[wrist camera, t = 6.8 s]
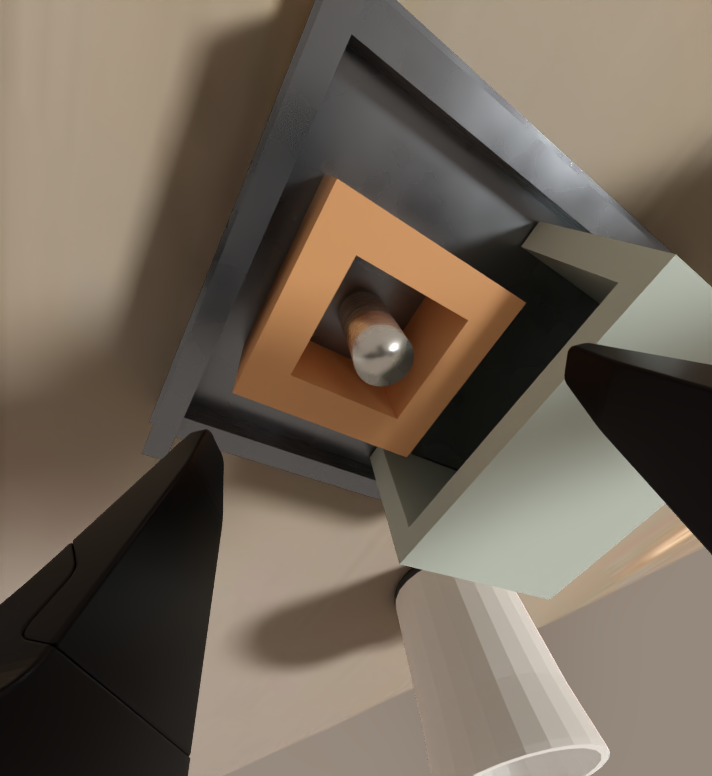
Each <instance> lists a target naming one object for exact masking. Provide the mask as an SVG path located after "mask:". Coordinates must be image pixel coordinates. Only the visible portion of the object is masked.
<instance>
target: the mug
mask: <svg viewBox="0 0 712 776" xmlns="http://www.w3.org/2000/svg"><path fill="white" fill-rule="evenodd" d="M395 606H396V610H397V615H398V619H399V624H400V628H401V633H402V637H403V642H404V646H405V651H406V656H407V660H408V665H409V669H410V674H411V678H412V683H413V687H414V691H415V696H416V701H417V705H418V709H419V714H420V718H421V723H422V727H423V733H424V739H425V745H426V751H427V757H428V763H429V769H430V775H431V776H590V775H591V774H593V773H594V772H595V771H597V770H598V769H599V768H601V767H602V766H603V765H604V764H605V762H606V761H607V760H608V759H609V754H610V751H609V749H608V747H607V745H606V744H605V742H604V741H603V739H602V737H601V736H600V734H599V733H598V731H597V729H596V728H595V726H594V725H593V723H592V721H591V720H590V718H589V717H588V715H587V714H586V712H585V710H584V709H583V707H582V706H581V704H580V703H579V701H578V699H577V698H576V696H575V695H574V693H573V691H572V690H571V688H570V687H569V685H568V683H567V682H566V680H565V678H564V676H563V675H562V673H561V672H560V670H559V668H558V666H557V664H556V662H555V661H554V659H553V657H552V655H551V653H550V652H549V650H548V648H547V646H546V645H545V643H544V641H543V639H542V637H541V636H540V634H539V632H538V630H537V628H536V627H535V625H534V623H533V621H532V619H531V618H530V616H529V614H528V612H527V610H526V609H525V607H524V605H523V603H522V602H521V600H520V598H519V596H518V594H517V593H516V592H515V591H511V590H506V589H502V588H498V587H494V586H489V585H485V584H481V583H477V582H472V581H468V580H464V579H460V578H456V577H451V576H447V575H443V574H439V573H434V572H430V571H426V570H422V569H417V568H413V569H411V570H410V571H409V572H408V573H407V574H406V575H405V576H404V577H403V578H402V580H401V581H400V582H399V585H398V587H397V590H396V593H395Z"/></svg>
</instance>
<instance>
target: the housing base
mask: <svg viewBox="0 0 712 776" xmlns="http://www.w3.org/2000/svg"><path fill="white" fill-rule="evenodd" d="M324 174H326V175H329V176H332V177H334V178H337V179H339V180H340V181H342V182H343V183H345V184H346V185H348V186H349V187H351V188H352V189H354V190H355V191H357V192H358V193H360V194H361V195H363V196H365V197H366V198H368V199H369V200H371V201H372V202H374V203H375V204H377V205H378V206H380V207H381V208H383V209H384V210H386V211H387V212H389V213H390V214H392V215H393V216H395V217H397V218H398V219H400V220H401V221H403V222H404V223H406V224H407V225H409V226H410V227H412V228H413V229H415V230H416V231H418V232H419V233H421V234H422V235H424V236H425V237H427V238H428V239H430V240H432V241H433V242H435V243H436V244H438V245H439V246H441V247H442V248H444V249H445V250H447V251H448V252H450V253H451V254H453V255H454V256H456V257H457V258H459V259H460V260H462V261H464V262H465V263H467V264H468V265H470V266H471V267H473V268H474V269H476V270H477V271H479V272H480V273H482V274H483V275H485V276H486V277H488V278H489V279H491V280H492V281H494V282H495V283H497V284H499V285H500V286H502V287H503V288H505V289H506V290H508V291H509V292H511V293H512V294H514V295H515V296H517V297H518V298H520V299H521V300H523V301H524V302H526V304H525V305H524V306H523V308H522V309H521V310H520V312H519V313H518V314H517V316H516V317H515V318H514V319H513V321H512V322H511V323H510V325H509V326H508V327H507V328H506V330H505V331H504V332H503V334H502V335H501V336H500V338H499V339H498V340H497V341H496V343H495V344H494V345H493V347H492V348H491V349H490V350H489V352H488V353H487V354H486V356H485V357H484V358H483V360H482V361H481V362H480V363H479V365H478V366H477V367H476V369H475V370H474V371H473V372H472V374H471V375H470V376H469V378H468V379H467V380H466V382H465V383H464V384H463V385H462V387H461V388H460V389H459V391H458V392H457V393H456V394H455V396H454V397H453V398H452V400H451V401H450V402H449V404H448V405H447V406H446V407H445V409H444V410H443V411H442V413H441V414H440V415H439V416H438V418H437V419H436V420H435V422H434V423H433V424H432V426H431V427H430V428H429V429H428V431H427V432H426V433H425V435H424V436H423V437H422V438H421V440H420V441H419V442H418V444H417V445H416V446H415V448H414V449H413V450H412V451H411V453H410V454H413V455H415V456H418V457H421V458H423V459H426V460H429V461H431V462H434V463H437V464H439V465H442V466H445V467H447V468H450V469H453V470H455V471H458V470H459V469H460V467H461V466H462V465H463V464H464V463H465V462H466V460H467V459H468V458H469V457H470V456H471V455H472V453H473V452H474V451H475V450H476V449H477V448H478V446H479V445H480V444H481V443H482V442H483V441H484V439H485V438H486V437H487V436H488V435H489V434H490V432H491V431H492V430H493V429H494V428H495V427H496V425H497V424H498V423H499V422H500V421H501V420H502V418H503V417H504V416H505V415H506V414H507V413H508V411H509V410H510V409H511V408H512V407H513V406H514V404H515V403H516V402H517V401H518V400H519V398H520V397H521V396H522V395H523V394H524V393H525V391H526V390H527V389H528V388H529V387H530V386H531V384H532V383H533V382H534V381H535V380H536V379H537V377H538V376H539V375H540V374H541V373H542V372H543V370H544V369H545V368H546V367H547V366H548V365H549V363H550V362H551V361H552V360H553V359H554V358H555V356H556V355H557V354H558V353H559V352H560V351H561V349H562V348H563V347H564V346H565V345H566V344H567V342H568V341H569V340H570V339H571V338H572V337H573V335H574V334H575V333H576V332H577V331H578V330H579V328H580V327H581V326H582V325H583V324H584V323H585V321H586V320H587V319H588V318H589V317H590V316H591V314H592V313H593V312H594V311H595V310H596V309H597V307H598V306H599V305H600V304H599V303H598V302H597V301H595V300H594V299H592V298H591V297H590V296H588V295H587V294H586V293H584V292H583V291H581V290H580V289H579V288H577V287H576V286H575V285H573V284H572V283H570V282H569V281H568V280H566V279H565V278H564V277H562V276H561V275H559V274H558V273H557V272H555V271H554V270H553V269H551V268H550V267H548V266H547V265H546V264H544V263H543V262H542V261H540V260H539V259H537V258H536V257H535V256H533V255H532V254H531V253H529V252H528V251H526V250H525V249H524V248H522V247H521V246H522V245H523V243H524V242H525V241H526V239H527V238H528V236H529V235H530V234H531V232H532V231H533V230H534V228H535V227H536V225H537V224H538V223H539V221H541V222H545V223H549V224H553V225H557V226H561V227H565V228H569V229H574V230H578V231H582V232H586V233H590V234H594V235H598V236H602V237H607V238H611V239H615V240H619V241H623V242H627V243H631V244H635V245H640V246H644V247H648V248H652V249H656V250H660V251H664V252H668V253H672V252H671V251H670V250H669V249H667V248H666V247H665V246H664V245H663V244H662V243H661V242H660V241H659V240H658V239H657V238H655V237H654V236H653V235H652V234H651V233H650V232H649V231H648V230H647V229H646V228H645V227H643V226H642V225H641V224H640V223H639V222H638V221H637V220H636V219H635V218H634V217H633V216H631V215H630V214H629V213H628V212H627V211H626V210H625V209H624V208H623V207H622V206H621V205H619V204H618V203H617V202H616V201H615V200H614V199H613V198H612V197H611V196H610V195H609V194H607V193H606V192H605V191H604V190H603V189H602V188H601V187H600V186H599V185H598V184H596V183H595V182H594V181H593V180H592V179H591V178H590V177H589V176H588V175H587V174H586V173H584V172H583V171H582V170H581V169H580V168H579V167H578V166H577V165H576V164H575V163H574V162H572V161H571V160H570V159H569V158H568V157H567V156H566V155H565V154H564V153H563V152H562V151H560V150H559V149H558V148H557V147H556V146H555V145H554V144H553V143H552V142H551V141H550V140H548V139H547V138H546V137H545V136H544V135H543V134H542V133H541V132H540V131H539V130H538V129H536V128H535V127H534V126H533V125H532V124H531V123H530V122H529V121H528V120H527V119H525V118H524V117H523V116H522V115H521V114H520V113H519V112H518V111H517V110H516V109H515V108H513V107H512V106H511V105H510V104H509V103H508V102H507V101H506V100H505V99H504V98H503V97H501V96H500V95H499V94H498V93H497V92H496V91H495V90H494V89H493V88H492V87H491V86H489V85H488V84H487V83H486V82H485V81H484V80H483V79H482V78H481V77H480V76H479V75H477V74H476V73H475V72H474V71H473V70H472V69H471V68H470V67H469V66H468V65H467V64H465V63H464V62H463V61H462V60H461V59H460V58H459V57H458V56H457V55H456V54H454V53H453V52H452V51H451V50H450V49H449V48H448V47H447V46H446V45H445V44H444V43H442V42H441V41H440V40H439V39H438V38H437V37H436V36H435V35H434V34H433V33H432V32H430V31H429V30H428V29H427V28H426V27H425V26H424V25H423V24H422V23H421V22H420V21H418V20H417V19H416V18H415V17H414V16H413V15H412V14H411V13H410V12H409V11H408V10H406V9H405V8H404V7H403V6H402V5H401V4H400V3H399V2H398V1H397V0H315V2H314V5H313V7H312V10H311V12H310V15H309V18H308V20H307V23H306V25H305V28H304V30H303V33H302V35H301V38H300V40H299V43H298V45H297V48H296V51H295V53H294V56H293V58H292V61H291V63H290V66H289V68H288V71H287V73H286V76H285V78H284V81H283V84H282V86H281V89H280V91H279V94H278V96H277V99H276V101H275V104H274V106H273V109H272V111H271V114H270V117H269V119H268V122H267V124H266V127H265V129H264V132H263V134H262V137H261V139H260V142H259V144H258V147H257V149H256V152H255V155H254V157H253V160H252V162H251V165H250V167H249V170H248V172H247V175H246V177H245V180H244V182H243V185H242V188H241V190H240V193H239V195H238V198H237V200H236V203H235V205H234V208H233V210H232V213H231V215H230V218H229V221H228V223H227V226H226V228H225V231H224V233H223V236H222V238H221V241H220V243H219V246H218V248H217V251H216V254H215V256H214V259H213V261H212V264H211V266H210V269H209V271H208V274H207V276H206V279H205V281H204V284H203V287H202V289H201V292H200V294H199V297H198V299H197V302H196V304H195V307H194V309H193V312H192V314H191V317H190V319H189V322H188V325H187V327H186V330H185V332H184V335H183V337H182V340H181V342H180V345H179V347H178V350H177V352H176V355H175V358H174V360H173V363H172V365H171V368H170V370H169V373H168V375H167V378H166V380H165V383H164V385H163V388H162V391H161V393H160V396H159V398H158V401H157V403H156V406H155V408H154V411H153V413H152V416H151V418H150V421H149V422H151V423H154V424H153V427H152V429H151V432H150V434H149V436H148V439H147V441H146V444H145V446H144V449H143V451H142V454H144V455H147V456H151V457H155V458H158V459H162V458H164V457H165V456H166V455H167V454H168V453H169V450H170V448H171V446H172V444H173V441H174V439H175V437H177V438H181V439H184V438H185V437H186V436H188V435H189V434H190V433H192V432H195V431H199V430H204V429H208V430H210V432H211V433H212V435H213V437H214V439H215V441H216V443H217V445H218V447H219V450H220V451H223V452H226V453H230V454H233V455H236V456H239V457H243V458H246V459H249V460H252V461H256V462H259V463H262V464H265V465H269V466H272V467H275V468H278V469H282V470H285V471H288V472H291V473H295V474H298V475H301V476H304V477H308V478H311V479H314V480H318V481H321V482H324V483H327V484H331V485H334V486H337V487H340V488H344V489H347V490H350V491H353V492H357V493H360V494H363V495H366V496H370V497H373V498H376V499H379V500H381V496H380V493H379V489H378V485H377V482H376V478H375V475H374V471H373V468H372V464H371V461H370V456H371V455H372V454H373V452H374V451H375V449H376V448H377V446H374V445H372V444H369V443H366V442H364V441H361V440H358V439H355V438H353V437H350V436H347V435H345V434H342V433H339V432H337V431H334V430H331V429H329V428H326V427H323V426H320V425H318V424H315V423H312V422H310V421H307V420H304V419H302V418H299V417H296V416H293V415H291V414H288V413H285V412H283V411H280V410H277V409H275V408H272V407H269V406H266V405H264V404H261V403H258V402H256V401H253V400H250V399H248V398H245V397H242V396H240V395H237V394H234V393H233V389H234V384H235V380H236V376H237V371H238V367H239V363H240V358H241V354H242V349H243V345H244V343H245V341H246V339H247V337H248V335H249V333H250V330H251V328H252V326H253V324H254V322H255V320H256V318H257V316H258V314H259V311H260V309H261V307H262V305H263V303H264V301H265V299H266V297H267V295H268V292H269V290H270V288H271V286H272V284H273V282H274V280H275V278H276V276H277V273H278V271H279V269H280V267H281V265H282V263H283V261H284V259H285V257H286V254H287V252H288V250H289V248H290V246H291V244H292V242H293V240H294V238H295V235H296V233H297V231H298V229H299V227H300V225H301V223H302V221H303V219H304V216H305V214H306V212H307V210H308V208H309V206H310V204H311V202H312V200H313V197H314V195H315V193H316V191H317V189H318V187H319V185H320V183H321V181H322V178H323V176H324ZM425 297H426V295H424V294H422V293H420V292H419V291H417V290H415V289H414V288H412V287H410V286H408V285H407V284H405V283H403V282H402V281H400V280H398V279H396V278H395V277H393V276H391V275H389V274H388V273H386V272H384V271H383V270H381V269H379V268H377V267H376V266H374V265H372V264H371V263H369V262H367V261H365V260H364V259H362V258H360V257H359V256H357V255H356V257H355V258H354V260H353V262H352V264H351V266H350V268H349V269H348V271H347V273H346V275H345V277H344V278H343V280H342V282H341V284H340V286H339V288H338V289H337V291H336V293H335V295H334V297H333V299H332V300H331V302H330V304H329V306H328V308H327V309H326V311H325V313H324V315H323V317H322V319H321V320H320V322H319V324H318V326H317V328H316V329H315V331H314V333H313V335H312V337H311V339H310V341H312V342H314V343H316V344H318V345H321V346H323V347H325V348H327V349H329V350H331V351H334V352H336V353H338V354H340V355H342V356H344V357H347V358H349V359H351V360H353V363H354V366H355V369H356V372H357V374H358V375H359V377H360V378H361V379H362V380H363V381H365V382H366V383H368V384H370V385H374V386H388V385H392V384H394V383H396V382H398V381H400V380H401V379H402V378H404V377H405V376H406V375H407V373H408V372H409V371H410V369H411V367H412V365H413V361H414V350H413V347H412V345H411V343H410V342H409V340H408V339H407V337H406V336H405V334H404V333H403V330H404V329H405V327H406V326H407V324H408V323H409V321H410V320H411V318H412V317H413V315H414V313H415V312H416V310H417V309H418V307H419V306H420V304H421V303H422V301H423V300H424V298H425Z"/></svg>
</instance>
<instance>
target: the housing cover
mask: <svg viewBox="0 0 712 776" xmlns="http://www.w3.org/2000/svg"><path fill="white" fill-rule="evenodd" d="M521 247H522V248H524V249H525V250H526V251H528V252H529V253H531V254H532V255H533V256H535V257H536V258H537V259H539V260H540V261H542V262H543V263H544V264H546V265H547V266H548V267H550V268H551V269H553V270H554V271H555V272H557V273H558V274H559V275H561V276H562V277H564V278H565V279H566V280H568V281H569V282H570V283H572V284H573V285H575V286H576V287H577V288H579V289H580V290H581V291H583V292H584V293H586V294H587V295H588V296H590V297H591V298H592V299H594V300H595V301H597V302H598V303H599V304H600V305H599V306H598V307H597V309H596V310H595V311H594V312H593V313H592V314H591V316H590V317H589V318H588V319H587V320H586V321H585V323H584V324H583V325H582V326H581V327H580V328H579V330H578V331H577V332H576V333H575V334H574V335H573V337H572V338H571V339H570V340H569V341H568V342H567V344H566V345H565V346H564V347H563V348H562V349H561V351H560V352H559V353H558V354H557V355H556V356H555V358H554V359H553V360H552V361H551V362H550V363H549V365H548V366H547V367H546V368H545V369H544V370H543V372H542V373H541V374H540V375H539V376H538V377H537V379H536V380H535V381H534V382H533V383H532V384H531V386H530V387H529V388H528V389H527V390H526V391H525V393H524V394H523V395H522V396H521V397H520V398H519V400H518V401H517V402H516V403H515V404H514V406H513V407H512V408H511V409H510V410H509V411H508V413H507V414H506V415H505V416H504V417H503V418H502V420H501V421H500V422H499V423H498V424H497V425H496V427H495V428H494V429H493V430H492V431H491V432H490V434H489V435H488V436H487V437H486V438H485V439H484V441H483V442H482V443H481V444H480V445H479V446H478V448H477V449H476V450H475V451H474V452H473V453H472V455H471V456H470V457H469V458H468V459H467V460H466V462H465V463H464V464H463V465H462V466H461V467H460V469H459V470H458V471H455V470H453V469H450V468H447V467H445V466H442V465H439V464H437V463H434V462H431V461H429V460H426V459H423V458H421V457H418V456H415V455H413V454H409V455H408V457H404V456H401V455H399V454H396V453H393V452H391V451H388V450H385V449H382V448H380V447H377V448H376V449H375V451H374V452H373V454H372V455H371V456H370V461H371V464H372V468H373V471H374V475H375V478H376V482H377V485H378V489H379V493H380V496H381V500H382V503H383V507H384V510H385V514H386V518H387V521H388V525H389V528H390V532H391V535H392V539H393V542H394V546H395V550H396V553H397V557H398V560H399V564H400V565H405V566H409V567H413V568H417V569H422V570H426V571H430V572H434V573H439V574H443V575H447V576H451V577H456V578H460V579H464V580H468V581H472V582H477V583H481V584H485V585H489V586H494V587H498V588H502V589H506V590H511V591H515V592H519V593H523V594H528V595H532V596H536V597H540V598H544V599H549V600H550V599H551V598H552V597H554V596H555V595H556V594H557V593H558V592H560V591H561V590H562V589H563V588H564V587H566V586H567V585H568V584H569V583H570V582H572V581H573V580H574V579H575V578H576V577H578V576H579V575H580V574H581V573H582V572H584V571H585V570H586V569H587V568H588V567H590V566H591V565H592V564H593V563H595V562H596V561H597V560H598V559H599V558H601V557H602V556H603V555H604V554H605V553H607V552H608V551H609V550H610V549H611V548H613V547H614V546H615V545H616V544H617V543H619V542H620V541H621V540H622V539H623V538H625V537H626V536H627V535H628V534H629V533H631V532H632V531H633V530H634V529H635V528H637V527H638V526H639V525H640V524H641V523H643V522H644V521H645V520H646V519H647V518H649V517H650V516H651V515H652V514H654V513H655V512H656V511H657V510H658V509H660V508H661V507H662V506H663V505H664V504H666V503H665V502H664V501H663V500H662V499H661V498H660V497H659V495H658V494H657V493H656V492H655V491H654V490H653V489H652V488H651V487H650V485H649V484H648V483H647V482H646V481H645V480H644V479H643V478H642V477H641V475H640V474H639V473H638V472H637V471H636V470H635V469H634V468H633V466H632V465H631V464H630V463H629V462H628V461H627V460H626V459H625V458H624V456H623V455H622V454H621V453H620V452H619V451H618V450H617V449H616V448H615V446H614V445H613V444H612V443H611V442H610V441H609V440H608V439H607V438H606V436H605V435H604V434H603V433H602V432H601V431H600V429H599V428H598V427H597V426H596V424H595V423H594V422H593V420H592V419H591V417H590V416H589V415H588V413H587V412H586V411H585V409H584V408H583V406H582V405H581V404H580V402H579V401H578V399H577V398H576V397H575V395H574V394H573V392H572V391H571V390H570V388H569V387H568V386H567V384H566V382H565V378H564V373H565V366H566V359H567V353H568V350H569V348H570V347H571V346H574V345H578V344H582V343H593V344H599V345H604V346H610V347H615V348H621V349H626V350H632V351H638V352H643V353H649V354H654V355H660V356H666V357H671V358H677V359H682V360H688V361H693V362H699V363H705V364H710V365H712V287H711V286H710V285H709V284H708V283H707V282H706V281H704V280H703V279H702V278H701V277H700V276H699V275H698V274H697V273H696V272H695V271H694V270H692V269H691V268H690V267H689V266H688V265H687V264H686V263H685V262H684V261H683V260H682V259H681V258H679V257H678V256H677V255H676V254H673V253H668V252H664V251H660V250H656V249H652V248H648V247H644V246H640V245H635V244H631V243H627V242H623V241H619V240H615V239H611V238H607V237H602V236H598V235H594V234H590V233H586V232H582V231H578V230H574V229H569V228H565V227H561V226H557V225H553V224H549V223H545V222H541V221H539V223H538V224H537V225H536V227H535V228H534V230H533V231H532V232H531V234H530V235H529V236H528V238H527V239H526V241H525V242H524V243H523V245H522V246H521Z"/></svg>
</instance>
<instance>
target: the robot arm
mask: <svg viewBox="0 0 712 776" xmlns="http://www.w3.org/2000/svg"><path fill="white" fill-rule="evenodd" d="M564 378H565V382H566V384H567V386H568V387H569V388H570V390H571V391H572V392H573V394H574V395H575V397H576V398H577V399H578V401H579V402H580V404H581V405H582V406H583V408H584V409H585V411H586V412H587V413H588V415H589V416H590V417H591V419H592V420H593V422H594V423H595V424H596V426H597V427H598V428H599V429H600V431H601V432H602V433H603V434H604V435H605V436H606V438H607V439H608V440H609V441H610V442H611V443H612V444H613V445H614V446H615V448H616V449H617V450H618V451H619V452H620V453H621V454H622V455H623V456H624V458H625V459H626V460H627V461H628V462H629V463H630V464H631V465H632V466H633V468H634V469H635V470H636V471H637V472H638V473H639V474H640V475H641V477H642V478H643V479H644V480H645V481H646V482H647V483H648V484H649V485H650V487H651V488H652V489H653V490H654V491H655V492H656V493H657V494H658V495H659V497H660V498H661V499H662V500H663V501H664V502H665V503H666V504H667V505H668V507H669V508H670V509H671V510H672V511H673V512H674V513H675V514H676V515H677V517H678V518H679V519H680V520H681V521H682V522H683V523H684V524H685V525H686V527H687V528H688V529H689V530H690V531H691V532H692V533H693V534H694V535H695V537H696V538H697V539H698V540H699V541H700V542H701V543H702V544H703V545H704V547H705V548H706V549H707V550H708V551H709V552H710V553H711V554H712V365H710V364H705V363H699V362H693V361H688V360H682V359H677V358H671V357H666V356H660V355H654V354H649V353H643V352H638V351H632V350H626V349H621V348H615V347H610V346H604V345H599V344H593V343H582V344H578V345H574V346H571V347H570V348H569V350H568V353H567V359H566V366H565V373H564ZM223 475H224V462H223V457H222V454H221V452H220V450H219V447H218V445H217V443H216V441H215V439H214V437H213V435H212V433H211V432H210V430H208V429H204V430H199V431H195V432H192V433H190V434H189V435H188V436H186V437H185V438H184V439H183V440H182V441H181V442H180V443H179V444H178V445H177V446H176V447H174V448H173V449H172V450H171V451H170V452H169V453H168V454H167V455H166V456H165V457H164V458H162V459H161V460H160V461H159V462H158V463H157V464H156V465H155V466H154V467H153V468H152V469H150V470H149V471H148V472H147V473H146V474H145V475H144V476H143V477H142V478H141V479H140V480H138V481H137V482H136V483H135V484H134V485H133V486H132V487H131V488H130V489H129V490H128V491H126V492H125V493H124V494H123V495H122V496H121V497H120V498H119V499H118V500H117V501H116V502H114V503H113V504H112V505H111V506H110V507H109V508H108V509H107V510H106V511H105V512H104V513H102V514H101V515H100V516H99V517H98V518H97V519H96V520H95V521H94V522H93V523H92V524H90V525H89V526H88V527H87V528H86V529H85V530H84V531H83V532H82V533H81V534H80V535H78V536H77V537H76V538H75V539H74V540H73V544H72V543H71V544H69V545H67V546H66V547H65V548H64V549H63V550H62V551H61V552H60V553H59V554H58V555H57V556H56V557H54V558H53V559H52V560H51V561H50V562H49V563H48V564H47V565H46V566H44V567H43V568H42V569H41V570H40V571H39V572H38V573H37V574H35V575H34V576H33V577H32V578H31V579H30V580H29V581H28V582H26V583H25V584H24V585H23V586H22V587H21V588H19V589H18V590H17V591H16V592H15V593H13V594H12V595H11V596H10V597H9V598H8V599H6V600H5V601H4V602H3V603H2V604H0V776H188V770H189V763H190V757H189V755H190V753H191V746H192V739H193V732H194V725H195V717H196V710H197V703H198V696H199V689H200V681H201V674H202V667H203V660H204V653H205V645H206V638H207V631H208V624H209V616H210V609H211V602H212V595H213V588H214V580H215V573H216V566H217V559H218V552H219V544H220V537H221V530H222V521H223Z"/></svg>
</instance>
